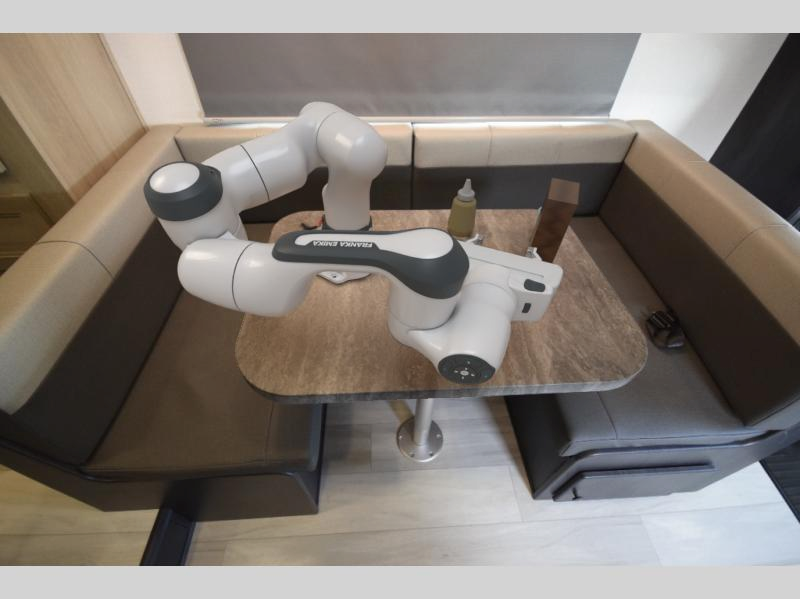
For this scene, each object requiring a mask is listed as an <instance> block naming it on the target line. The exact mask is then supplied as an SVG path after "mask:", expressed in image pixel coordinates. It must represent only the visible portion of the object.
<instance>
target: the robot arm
mask: <svg viewBox="0 0 800 599" xmlns="http://www.w3.org/2000/svg"><path fill="white" fill-rule="evenodd" d="M388 158H389V149H388V145H387V142H386V140H385V139H384V138H383V137H382V135H381V134H380V133H379V132H378V131H377V129H375V127H373V125H371V124H370V123H368V122H367V121H364V120H363V119H361V118H360V117H357V116H356V115H354V114H353V113H350V112H349V111H347V110H345V109H343V108H341V107H339V106H338V105H336V104H334V103H331V102H325V101H312V102H309V103H307V104H306V105H304V106H303V107H302V108H301V109H300V112H299V113H298V116H297V117H295V118H294V119H292V120H291V121H289V122H288V123H286V124H285V125H283V126H282V127H280V128H278V129H276V130H274V131H271V132H269V133H266V134H263V135H261V136H258V137H256V138H253V139H250V140H248V141H245V142H242V143H239V144H236V145H234V146H231V147H229V148H226V149H224V150H222V151H220V152H218V153H216V154H214V155H211V157H209V158H207V159H205V160H203V161H202V162H196V161H189V160H178V161H172V162H168V163H165V164H163V165H160V166H159V167H157V168H156V169H155V170H153V171H152V172H151V173H150V174H149V176H148V178H147V179H146V181H145V183H144V185H143V189H142V190H143V196H144V198H145V201H146V203H147V205H148V208H149V210H150V211H151V213H152V214H153V216H155V217H156V218H157V220H158V221H159V223H160V224H161V226H162V228H163V230H164V231H165V233H166V235H167V236H168V237H169V238H170V240H171V241H172V243H173V244H174V245H175V246H176V247H178V248H179V249H180V251H181V253H180V256H179V259H178V262H177V277H178V280H179V283H180V284H181V286H182V287H183V289H184V290H185V291H186V292H187V293H189V294H191V295H192V296H194V297H196V298H198V299H200V300H203V301H205V302H208V303H210V304H212V305H216V306H219V307H221V308H224V309H229V310H233V311H237V312H241V313H245V314H250V315H254V316H260V317H266V318H267V317H269V318H279V317H284V316H286V315H289V314H291V313H292V312H294V311H295V310H297V309H298V308H299V307H301V305H302V304H303V303H304V302H305V300H306V299H307V297H308V296H309V294H310V292H311V290H312V287H313V285H314V282H315V279H316V277H317V276H320V277H322V278H324V279H325V280H328V281H330V282H331V283H334V284H337V285H340V284H342V283H345V282H347V281H351V280H352V281H353V280H357V279H362V278H366V277H367V276H369V275H370V274H371V275H372V274H373V275H374V274H376V275H381V276H383V277H385V278H386V279H387V280H388V297H387V306H386V307H387V308H386V326H387V330H388V332H389V334H390V335H391V336H392V338H393V339H394V340H395V341H396V342H397V343H399V344H401V345H403V346H404V347H407V348H411V349H414V350H416V351H417V352H418V353H420V354H422V355H423V356H424V357H425V358H426V359H428V360H429V361H430V362H431V363H432V365H433V367H434V368H435V369H436V371H437V373H438V374H439V375H440V376H441V377H442V378H443V379H446V381H448V382H451V383H453V384H456V385H457V384H458V385H462V386H477V385H481V384H483V383H486V382H487V381H490V380H491V379H492V378H493V377H495V375H496V374H497V373H498V371H499V369H500V368H501V366H502V364H503V362H504V359H505V356H506V354H507V353H506V352H507V349H508V346H509V343H510V339H511V335H512V323H511V322H530V323H531V322H532V323H536V322H539V321H541V319H542V318H543V316H545V313H546V312H547V310H548V308H549V306H550V304H551V303H552V301H553V299H554V297H555V295H556V293H557V291H558V288H559V287H560V284H561V283H562V279H563V275H564V269H563V268H562V267H561V266H560V265H559V264H556V263H548V262H544V261H542V259H541V258H540V257H539V255H538V254H537V253H536V251H537V248H535V247H530V246H528V245H527V248H528V250H527V249H526V251H527V252H526V251H525V253H526V256H525V255H524V256H525V257H524V256H523V255H520V254H519V255H518V254H515V253H511V252H506V251H503V250H499V249H495V248H490V247H487V246H483V242H484V238H485V235H484V234H479V233H475V236H474V237H472V238H470V239H468V240H466V241H462V240H458V239H457V238H455V236H454V235H452V234H451V233H450V232H448V231H446V230H444V229H441V228H438V227H437V228H436V227H432V226H431V227H430V226H427V227H426V226H423V227H413V228H408V229H407V228H406V229H399V230H374V228H373V217H372V215H371V196H370V195H371V194H370V193H371V188H372V187H371V186H372V184H373V180H375V179H376V178H378V176H380V174H381V173H382V172H383V171H384V169H385V167H386V164H387V162H388ZM322 165H326V167H327V170H328V178H327V183H326V184H325V185H324V186H323V188H322V192H321V197H322V203H323V210H324V214H323V215H322V216H321V218H320V219H319V220H318V221H317V222H316V225H314V226H307V225H306V224H305V223H304V222H301V224H300V225H301V226H302V227H303V228H304V229H301V230H300V229H299V230H294V231H290V232H287V233H285V234H283V235H281V236H280V237H278V239H277V240H276V241H275V242H269V243H268V242H259V241H254V240H250V238H249V237H248V235H247V231H246V229H245V226H244V224H243V221H242V219H241V217H240V215H239V214H241V212H242V211H245V210H246V211H247V210H249V209H252V208H255V207H258V206H261V205H264V204H266V203H269V202H271V201H273V200H276V199H278V198H280V197H282V196H285V195H287V194H290V193H291V192H294V191H296V190H299V189H301V188H302V187H304V186H305V184H306V182H307V180H308V176H309V175H310V174H311V173H312V172H313V171H314V170H316V169H317V168H318V167H320V166H322Z"/></svg>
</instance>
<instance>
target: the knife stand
mask: <svg viewBox="0 0 800 599" xmlns="http://www.w3.org/2000/svg"><path fill="white" fill-rule="evenodd" d="M580 184H581V183H580V182H577V181H570V180H565V179H560V178H555V177H552V178H551V180H550V183H549V186H548V188H547V191H546V194H545V197H544V200H543V202H542V205H541V207H542V208H541V211H540V214H539V217H538V219H537V218H536V220H537V222H536V221H535V224H536V225H535V224H534V228H533V230H532V234H531V237H530V238H529V242H528V245H527V248H526V250H525V253H524V256H523V257H525V256H526V252H527V250H528V246H530V247H535V248H537V251H536V253H537V254H538V255H539V257H540V258H541V259H542V261H544V262H548V263H552V264H554V261H555V258H556V256H557V254H558V251H559V249H560V247H561V244H562V243H563V240H564V239H565V235H566V233H567V231H568V228H569V226H570V224H571V222H572V219H573V217H574V215H575V212H576V210H577V207H578V205H579V194H580Z"/></svg>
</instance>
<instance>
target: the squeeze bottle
mask: <svg viewBox="0 0 800 599" xmlns="http://www.w3.org/2000/svg"><path fill="white" fill-rule="evenodd" d="M475 195H476V193H475V191H474V190H473V189H472V180H471V179H470V178H466V180H465V182H464V184H463V187H462V188H460V189H459V190H458V191H457V195H456V196H455V197H454V198H453V200H452V204H451V209H450V212H449V216H448V219H447V227H448V231H449V232H448V233H449V234H451V235H452V236H453V237H457V238H465V237H466V238H467V237H468V236H469V235H471V234H472V232H473V230H474V229H475V224H476V214H477V200H476V198H475Z"/></svg>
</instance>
